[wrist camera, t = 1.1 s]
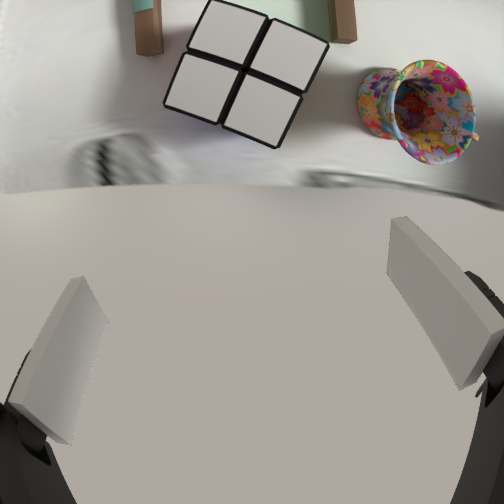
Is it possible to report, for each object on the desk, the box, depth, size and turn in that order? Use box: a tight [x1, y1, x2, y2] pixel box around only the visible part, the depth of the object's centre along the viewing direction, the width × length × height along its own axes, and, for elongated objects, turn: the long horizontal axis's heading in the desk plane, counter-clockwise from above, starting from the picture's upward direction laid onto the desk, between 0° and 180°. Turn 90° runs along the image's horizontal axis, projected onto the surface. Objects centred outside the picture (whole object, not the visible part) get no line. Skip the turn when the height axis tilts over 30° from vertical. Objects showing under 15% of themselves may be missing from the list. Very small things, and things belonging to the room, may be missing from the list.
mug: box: [358, 60, 479, 165], centre depth 24 cm, size 12×9×11 cm
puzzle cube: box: [163, 0, 330, 149], centre depth 23 cm, size 10×10×10 cm
